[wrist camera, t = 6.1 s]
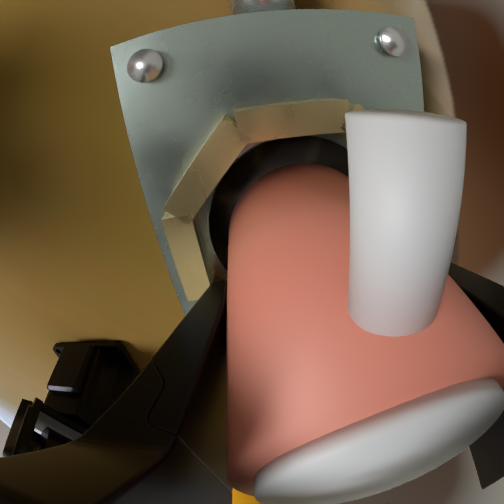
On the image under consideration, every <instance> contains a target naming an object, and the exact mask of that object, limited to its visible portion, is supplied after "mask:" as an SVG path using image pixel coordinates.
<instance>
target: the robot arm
mask: <svg viewBox="0 0 504 504" xmlns="http://www.w3.org/2000/svg"><path fill="white" fill-rule="evenodd" d="M448 274H449V276H450V277H451V278H452V279H453V280H454V281H455V282H456V284H457V285H458V286H459V287H460V288H461V289H462V291H463V292H464V293H465V294H466V295H467V297H468V298H469V299H470V300H471V301H472V303H473V304H474V305H475V306H476V308H477V309H478V310H479V311H480V313H481V314H482V315H483V316H484V318H485V319H486V320H487V322H488V323H489V324H490V325H491V327H492V328H493V329H494V331H495V332H496V333H497V335H498V336H499V338H500V339H501V340H502V342H503V343H504V286H502V285H500V284H497V283H495V282H493V281H491V280H489V279H487V278H484V277H482V276H480V275H478V274H476V273H473V272H471V271H469V270H467V269H464V268H462V267H460V266H458V265H455V264H453V263H450V267H449V272H448ZM226 333H227V280H219V281H214V282H212V283H211V284H210V286H209V287H208V288H207V289H206V291H205V292H204V293H203V295H202V296H201V297H200V298H199V300H198V301H197V302H196V303H195V305H194V306H193V307H192V308H191V310H190V311H189V312H188V313H187V315H186V316H185V317H184V319H183V320H182V321H181V322H180V324H179V325H178V326H177V327H176V329H175V330H174V331H173V333H172V334H171V335H170V336H169V338H168V339H167V340H166V341H165V343H164V344H163V345H162V347H161V348H160V349H159V350H158V352H157V353H156V354H155V355H154V357H153V358H152V361H150V362H149V363H148V364H147V366H146V367H145V368H144V369H143V371H142V372H141V373H140V371H139V370H138V368H137V366H136V365H135V363H134V362H133V360H132V359H131V357H130V355H129V354H128V352H127V351H126V349H125V347H124V346H123V345H122V344H121V343H120V342H117V341H110V342H87V343H56V344H55V345H54V347H53V350H54V352H55V353H56V355H57V356H58V357H59V359H58V361H57V364H56V366H55V368H54V370H53V373H52V375H51V377H50V380H49V382H48V385H47V389H48V390H49V392H48V394H47V397H46V399H45V402H44V403H43V401H41V400H40V399H38V398H35V400H34V401H33V402H32V401H28V400H25V399H22V401H21V403H20V406H19V408H18V411H17V413H16V416H15V418H14V421H13V424H12V426H11V429H10V432H9V435H8V438H7V441H6V444H5V447H4V450H3V456H4V457H1V458H0V504H232V491H233V487H231V486H230V484H229V483H228V481H227V449H226ZM35 428H36V429H38V430H40V431H41V432H42V434H41V435H40V434H38V433H37V432H35V431H34V429H35ZM469 447H470V450H471V453H472V457H473V460H474V463H475V467H476V470H477V474H478V477H479V481H480V484H481V487H482V489H485V488H486V487H488V486H489V485H491V484H493V483H494V482H496V481H498V480H499V479H501V478H502V477H504V410H503V412H502V414H501V415H500V416H499V418H498V419H497V420H496V421H495V423H494V424H493V425H492V426H491V427H490V428H489V429H488V430H487V431H486V432H485V433H484V434H483V435H482V436H481V437H479V438H478V439H477V440H476V441H475V442H473V443H472V444H471V445H470V446H469Z"/></svg>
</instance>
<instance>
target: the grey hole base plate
mask: <svg viewBox="0 0 504 504" xmlns="http://www.w3.org/2000/svg"><path fill="white" fill-rule="evenodd" d="M229 2H230V7H231V12H232V15H230V16H224V17H218V18H212V19H207V20H202V21H197V22H192V23H188V24H184V25H179V26H175V27H172V28H168V29H164V30H160V31H157V32H153V33H150V34H147V35H144V36H140V37H137V38H134V39H131V40H128V41H126V42H123V43H120V44H117V45H115V46H112V47H110V49H111V55H112V61H113V66H114V72H115V77H116V82H117V87H118V92H119V97H120V102H121V107H122V111H123V116H124V120H125V124H126V129H127V133H128V137H129V141H130V145H131V149H132V153H133V157H134V161H135V165H136V168H137V172H138V176H139V179H140V183H141V186H142V190H143V193H144V197H145V200H146V203H147V207H148V210H149V213H150V217H151V220H152V223H153V226H154V229H155V232H156V236H157V239H158V242H159V245H160V248H161V251H162V254H163V257H164V259H165V262H166V265H167V268H168V271H169V274H170V277H171V279H172V282H173V285H174V288H175V290H176V293H177V296H178V298H179V301H180V304H181V306H182V309H183V312H184V314H185V316H186V315H187V313H188V312H189V311H190V310H191V308H192V307H193V306H194V305H195V303H196V302H197V301H198V300H199V298H200V297H201V296H202V295H203V293H204V292H205V291H206V289H207V288H208V287H209V286H210V284H211V283H212V282H214V281H219V280H227V277H228V240H229V225H230V219H231V216H232V213H233V210H234V208H235V206H236V204H237V202H238V200H239V199H240V197H241V196H242V194H243V193H244V192H245V191H246V190H247V188H248V187H249V186H250V185H251V184H253V183H254V182H255V181H256V180H257V179H259V178H260V177H262V176H263V175H265V174H266V173H268V172H270V171H272V170H274V169H277V168H280V167H282V166H285V165H290V164H295V163H316V164H321V165H325V166H328V167H331V168H334V169H336V170H338V171H340V172H341V173H343V174H345V175H346V176H347V177H349V168H348V149H347V135H346V122H345V113H347V112H351V111H358V110H372V109H393V110H410V111H420V112H424V102H423V87H422V75H421V66H420V57H419V49H418V42H417V36H416V30H415V24H414V19H413V18H411V17H405V16H399V15H392V14H385V13H377V12H367V11H355V10H338V9H296V7H295V2H294V0H229Z"/></svg>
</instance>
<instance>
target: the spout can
mask: <svg viewBox="0 0 504 504" xmlns="http://www.w3.org/2000/svg"><path fill="white" fill-rule="evenodd" d="M345 122H346V135H347V149H348V168H349V177H347V176H346V175H345V174H343V173H341V172H340V171H338V170H336V169H334V168H331V167H328V166H325V165H321V164H316V163H295V164H290V165H285V166H282V167H280V168H277V169H274V170H272V171H270V172H268V173H266V174H265V175H263V176H262V177H260V178H259V179H257V180H256V181H255V182H254V183H253V184H251V185H250V186H249V187H248V188H247V190H246V191H245V192H244V193H243V194H242V196H241V197H240V199H239V200H238V202H237V204H236V206H235V208H234V210H233V213H232V216H231V219H230V225H229V240H228V277H227V333H226V449H227V481H228V483H229V484H230V486H231V487H233V488H234V489H236V490H237V491H239V492H242V493H244V494H247V495H250V496H255V499H256V500H257V501H258V502H260V503H262V504H338V503H343V502H348V501H352V500H357V499H360V498H364V497H368V496H371V495H374V494H377V493H380V492H383V491H386V490H389V489H392V488H394V487H397V486H399V485H402V484H404V483H406V482H409V481H411V480H413V479H415V478H417V477H420V476H421V475H423V474H425V473H427V472H429V471H431V470H433V469H435V468H437V467H438V466H440V465H442V464H443V463H445V462H447V461H448V460H450V459H451V458H453V457H454V456H456V455H457V454H459V453H460V452H461V451H463V450H464V449H466V448H467V447H468V446H470V445H471V444H472V443H473V442H475V441H476V440H477V439H478V438H479V437H481V436H482V435H483V434H484V433H485V432H486V431H487V430H488V429H489V428H490V427H491V426H492V425H493V424H494V423H495V421H496V420H497V419H498V418H499V416H500V415H501V414H502V412H503V410H504V343H503V342H502V340H501V339H500V338H499V336H498V335H497V333H496V332H495V331H494V329H493V328H492V327H491V325H490V324H489V323H488V322H487V320H486V319H485V318H484V316H483V315H482V314H481V313H480V311H479V310H478V309H477V308H476V306H475V305H474V304H473V303H472V301H471V300H470V299H469V298H468V297H467V295H466V294H465V293H464V292H463V291H462V289H461V288H460V287H459V286H458V285H457V284H456V282H455V281H454V280H453V279H452V278H451V277H450V276H449V274H448V272H449V267H450V263H451V259H452V254H453V249H454V244H455V239H456V233H457V227H458V221H459V215H460V207H461V200H462V192H463V182H464V171H465V156H466V155H465V154H466V122H464V121H462V120H460V119H457V118H453V117H449V116H445V115H440V114H434V113H428V112H420V111H410V110H393V109H372V110H358V111H351V112H347V113H345Z"/></svg>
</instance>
